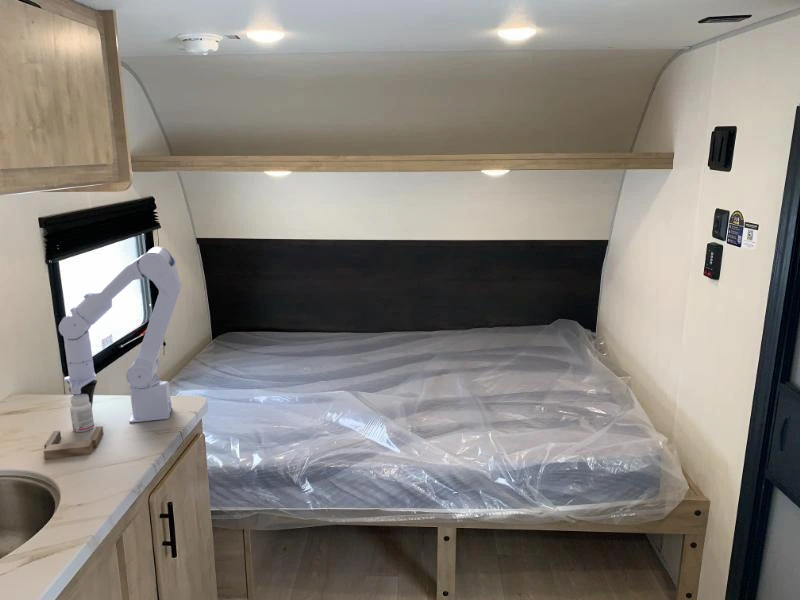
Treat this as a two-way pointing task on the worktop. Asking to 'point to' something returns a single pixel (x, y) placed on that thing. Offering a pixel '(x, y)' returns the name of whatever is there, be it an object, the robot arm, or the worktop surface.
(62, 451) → the notched board
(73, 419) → the pill bottle
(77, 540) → the worktop surface
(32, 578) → the worktop surface
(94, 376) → the robot arm
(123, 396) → the worktop surface
